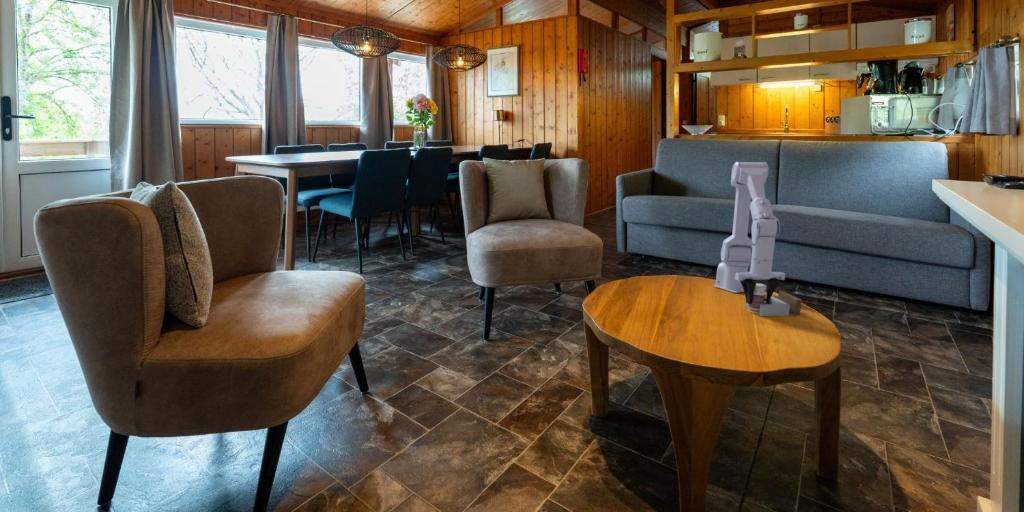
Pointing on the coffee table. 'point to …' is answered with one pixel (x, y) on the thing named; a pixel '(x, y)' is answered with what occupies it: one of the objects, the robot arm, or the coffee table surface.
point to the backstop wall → (791, 302)
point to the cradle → (773, 308)
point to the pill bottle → (758, 298)
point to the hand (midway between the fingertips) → (757, 302)
